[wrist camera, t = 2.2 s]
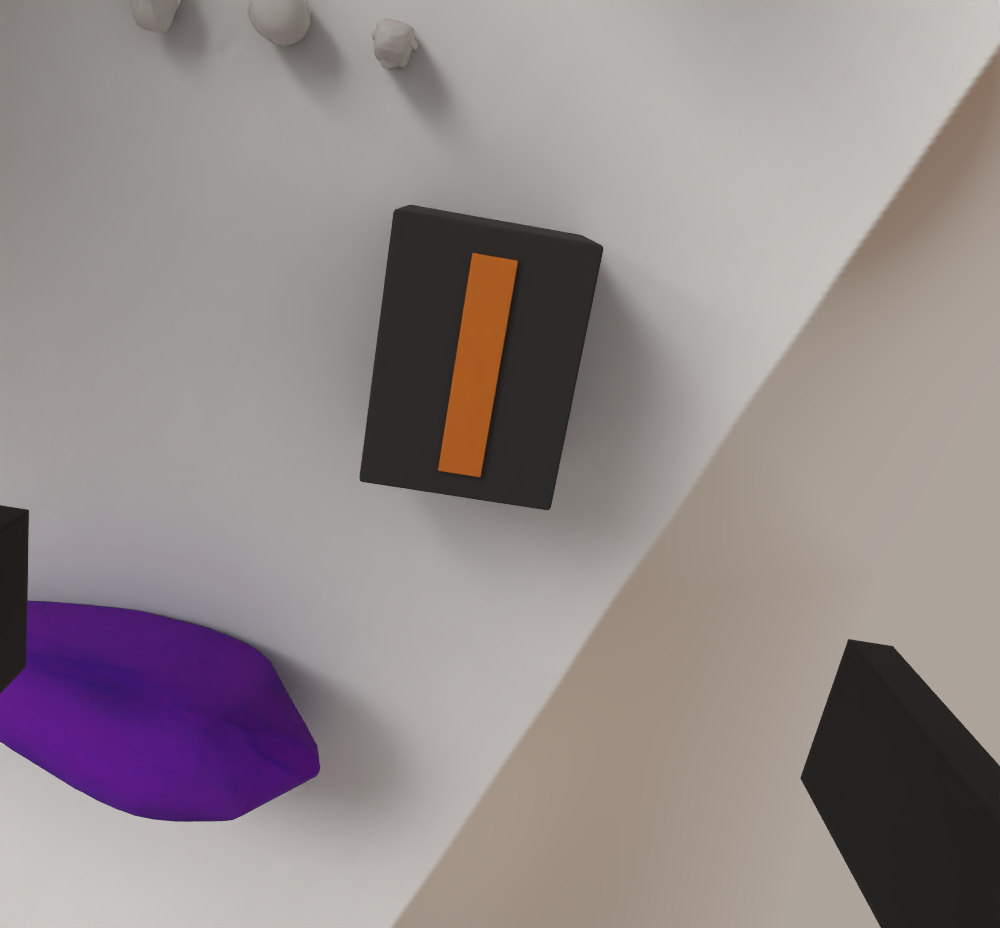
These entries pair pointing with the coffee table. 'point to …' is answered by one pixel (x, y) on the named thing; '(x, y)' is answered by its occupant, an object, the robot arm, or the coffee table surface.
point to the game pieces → (288, 26)
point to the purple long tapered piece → (154, 714)
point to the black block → (477, 356)
